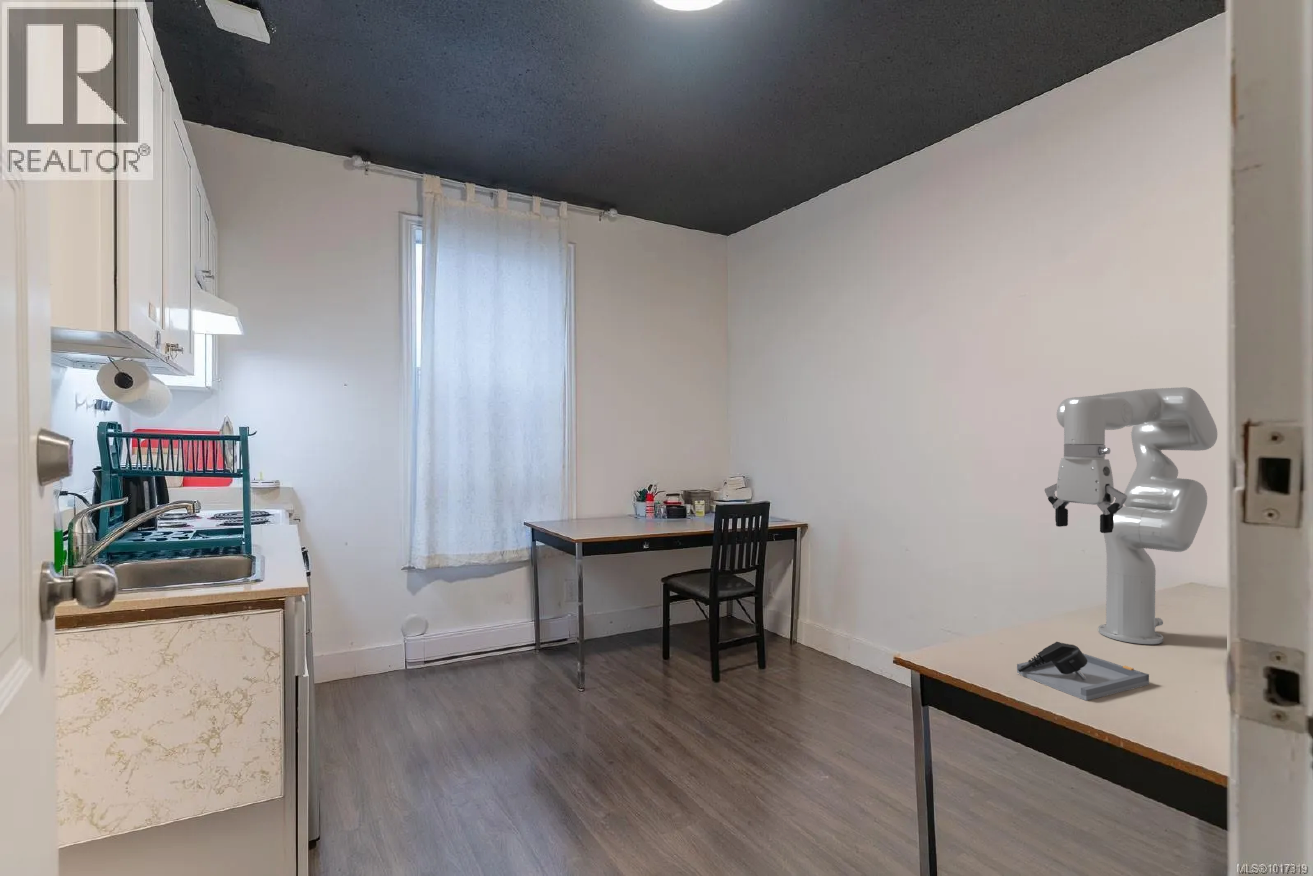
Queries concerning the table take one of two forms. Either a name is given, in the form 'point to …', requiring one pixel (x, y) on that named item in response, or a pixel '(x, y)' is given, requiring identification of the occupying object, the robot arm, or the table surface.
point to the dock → (1088, 678)
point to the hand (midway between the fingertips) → (1083, 529)
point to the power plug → (1060, 658)
